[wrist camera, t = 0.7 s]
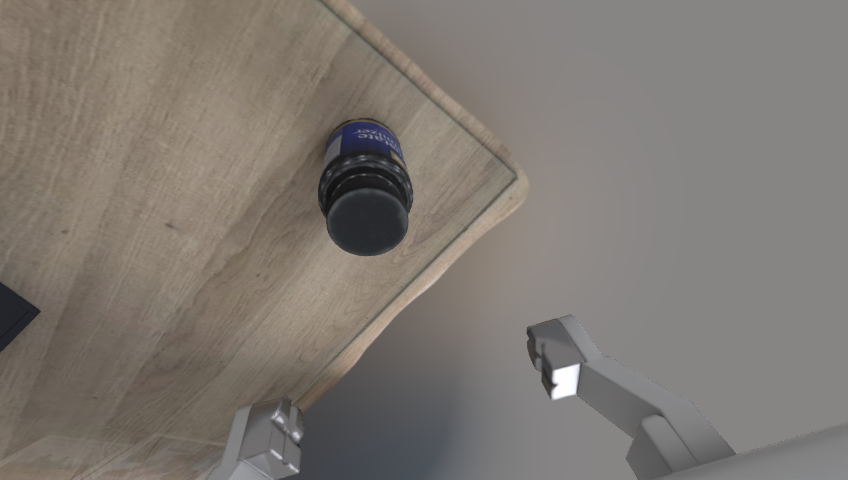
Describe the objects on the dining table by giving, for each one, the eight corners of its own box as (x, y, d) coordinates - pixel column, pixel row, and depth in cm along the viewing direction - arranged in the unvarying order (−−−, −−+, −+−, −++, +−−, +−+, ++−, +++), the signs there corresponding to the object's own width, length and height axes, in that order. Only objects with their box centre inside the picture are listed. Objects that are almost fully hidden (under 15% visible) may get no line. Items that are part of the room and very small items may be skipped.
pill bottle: (413, 140, 28) (442, 206, 19) (378, 197, 30) (388, 278, 22) (346, 100, 25) (343, 155, 16) (313, 166, 28) (295, 244, 19)
